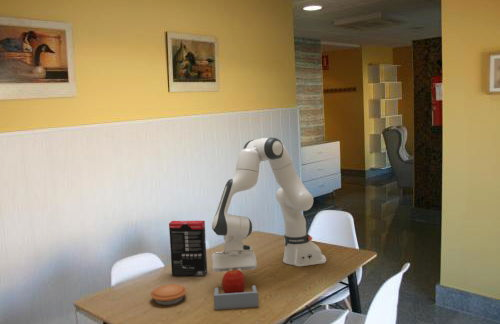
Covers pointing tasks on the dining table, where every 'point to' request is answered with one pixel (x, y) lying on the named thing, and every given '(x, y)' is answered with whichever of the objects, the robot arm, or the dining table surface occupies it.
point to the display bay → (236, 299)
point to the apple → (233, 282)
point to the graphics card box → (188, 248)
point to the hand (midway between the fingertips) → (235, 278)
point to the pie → (168, 294)
